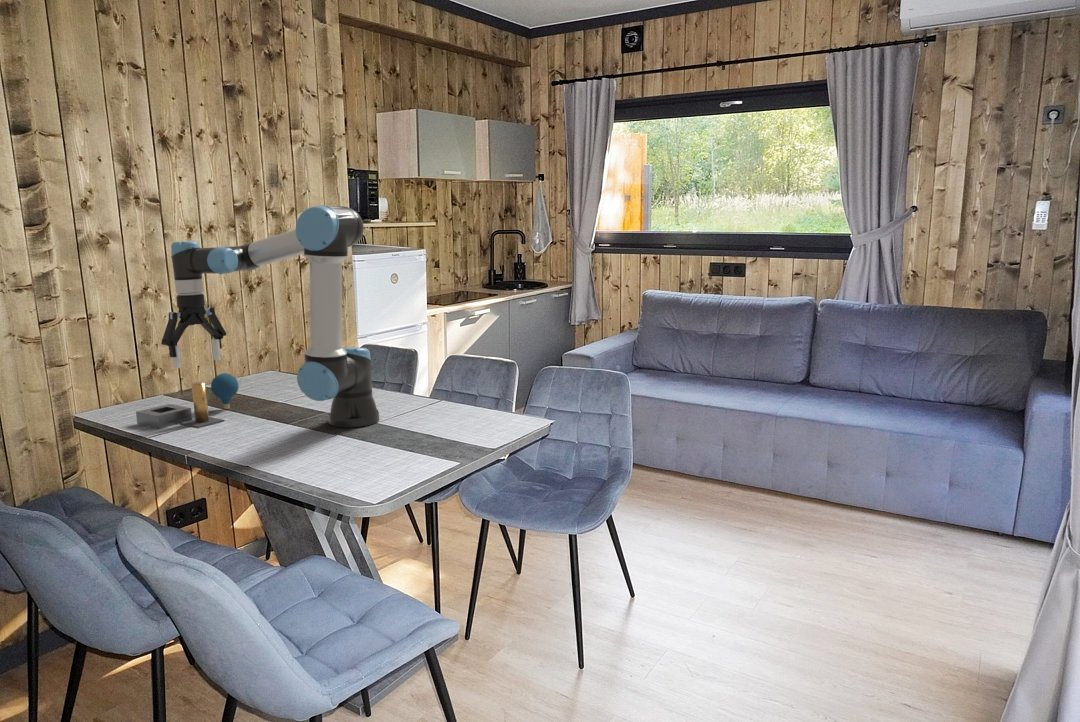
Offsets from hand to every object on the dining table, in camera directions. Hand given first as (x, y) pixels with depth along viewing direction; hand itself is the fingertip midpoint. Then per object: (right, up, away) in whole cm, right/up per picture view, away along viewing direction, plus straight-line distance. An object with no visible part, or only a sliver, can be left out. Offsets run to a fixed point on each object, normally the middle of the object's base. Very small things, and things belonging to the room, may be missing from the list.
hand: (197, 363), depth 229 cm
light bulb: (+1, -15, +20) cm, 25 cm away
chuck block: (-12, -18, +4) cm, 22 cm away
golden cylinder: (0, -18, +4) cm, 18 cm away
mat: (0, -18, +4) cm, 18 cm away
